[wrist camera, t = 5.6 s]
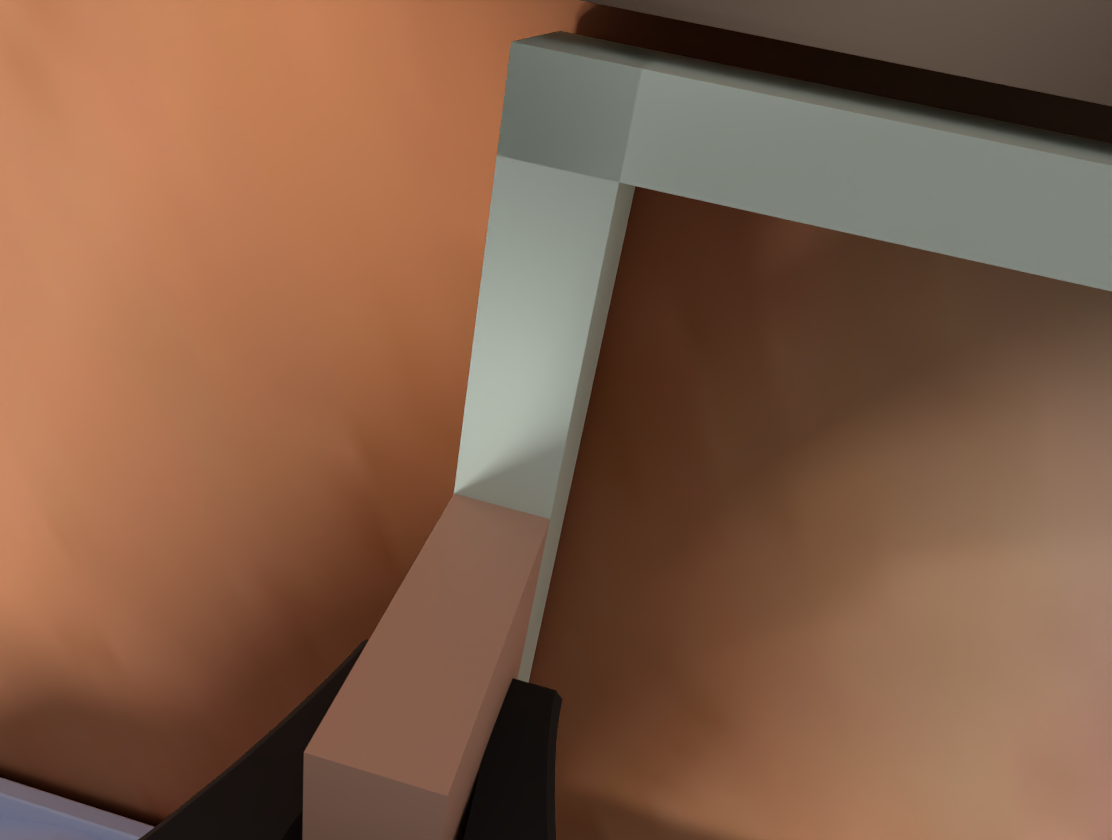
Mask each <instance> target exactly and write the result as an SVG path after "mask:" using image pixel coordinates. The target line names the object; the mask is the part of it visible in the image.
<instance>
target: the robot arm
mask: <svg viewBox="0 0 1112 840" xmlns="http://www.w3.org/2000/svg"><path fill="white" fill-rule="evenodd" d="M369 639H370V638H369ZM369 639H367V640H365V641H363V642H362V643H361V644H360V645H359V646H358V647H357V648H356V649H355V650H354V651H353V652H352V653H351V655H350V656H349V657H348V658H347V659H346V660H345V661H344V662H343V663H342V664H341V665H340V666H339V667H338V668H337V669H336V670H335V671H334V672H333V673H332V674H331V675H330V676H329V677H328V678H327V679H326V680H325V681H324V682H323V683H322V684H321V685H320V686H319V687H318V688H317V689H316V690H315V691H314V692H312V693H311V694H310V695H309V696H308V697H307V698H306V699H305V700H304V701H303V702H302V703H301V704H300V705H299V706H298V707H297V708H296V709H294V710H293V711H292V712H291V713H290V714H289V715H288V716H287V717H286V718H285V719H284V720H283V721H281V722H280V723H279V724H278V725H277V726H276V727H275V728H273V729H272V730H271V731H270V732H269V733H268V734H267V735H266V736H264V737H263V738H262V739H261V740H260V741H259V742H258V743H257V744H255V745H254V746H253V747H252V748H251V749H250V750H249V751H248V752H246V753H245V754H244V755H243V756H242V757H241V758H240V759H238V760H237V761H236V762H235V763H234V764H233V765H231V766H230V767H229V768H228V769H227V770H225V771H224V772H223V773H222V774H221V775H219V776H218V777H217V778H216V779H214V780H213V781H212V782H211V783H209V784H208V785H207V786H206V787H204V788H203V789H202V790H201V791H199V792H198V793H197V794H196V795H195V796H193V797H192V798H191V799H190V800H188V801H187V802H186V803H185V804H183V805H182V806H181V807H180V808H178V809H177V810H176V811H175V812H173V813H172V814H171V815H170V816H169V817H167V818H166V819H165V820H163V821H162V822H161V823H159V824H158V825H157V826H156V827H154V826H151V825H148V824H145V823H142V822H139V821H136V820H132V819H129V818H126V817H123V816H120V815H117V814H114V813H111V812H107V811H104V810H101V809H98V808H95V807H92V806H89V805H86V804H82V803H79V802H76V801H73V800H70V799H67V798H64V797H61V796H57V795H54V794H51V793H48V792H45V791H42V790H39V789H36V788H32V787H29V786H26V785H23V784H20V783H17V782H14V781H11V780H8V779H4V778H1V777H0V840H302V831H303V768H304V751H305V749H306V748H307V746H308V744H309V742H310V741H311V739H312V737H313V735H314V734H315V732H316V730H317V729H318V727H319V725H320V723H321V722H322V720H323V718H324V717H325V715H326V713H327V711H328V710H329V708H330V706H331V704H332V703H333V701H334V699H335V698H336V696H337V694H338V692H339V691H340V689H341V687H342V686H343V684H344V682H345V680H346V679H347V677H348V675H349V673H350V672H351V670H352V668H353V667H354V665H355V663H356V661H357V660H358V658H359V656H360V654H361V653H362V651H363V649H364V648H365V646H366V644H367V642H368V641H369ZM561 704H562V698H561V697H560V696H559V694H558V693H557V692H556V690H552V689H549V688H545V687H542V686H538V685H535V684H531V683H528V682H524V681H521V680H517V679H514V678H512V681H511V683H510V686H509V689H508V691H507V694H506V696H505V699H504V701H503V704H502V706H501V709H500V712H499V714H498V717H497V720H496V722H495V725H494V728H493V730H492V733H491V736H490V738H489V741H488V744H487V746H486V749H485V752H484V755H483V759H482V763H481V767H480V771H479V776H478V780H477V784H476V788H475V792H474V797H473V801H472V805H471V809H470V813H469V818H468V822H467V826H466V830H465V834H464V839H463V840H556V829H555V752H556V738H557V728H558V720H559V713H560V708H561Z"/></svg>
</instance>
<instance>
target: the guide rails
mask: <svg viewBox="0 0 1112 840" xmlns="http://www.w3.org/2000/svg"><path fill="white" fill-rule="evenodd" d="M582 1H587V2H592V3H597V4H602V5H607V6H612V7H617V8H622V9H627V10H632V11H637V12H642V13H647V14H652V15H657V16H662V17H667V18H672V19H677V20H682V21H687V22H692V23H697V24H702V25H707V26H712V27H717V28H722V29H727V30H732V31H737V32H742V33H747V34H752V35H757V36H762V37H767V38H772V39H777V40H782V41H787V42H792V43H797V44H802V45H807V46H812V47H817V48H822V49H827V50H832V51H837V52H842V53H847V54H852V55H857V56H862V57H867V58H872V59H877V60H882V61H887V62H892V63H897V64H902V65H907V66H912V67H917V68H922V69H927V70H932V71H937V72H942V73H947V74H952V75H957V76H962V77H967V78H972V79H977V80H982V81H987V82H992V83H997V84H1002V85H1007V86H1012V87H1017V88H1023V89H1028V90H1033V91H1038V92H1043V93H1048V94H1053V95H1058V96H1063V97H1068V98H1073V99H1078V100H1083V101H1088V102H1093V103H1098V104H1103V105H1108V106H1112V0H582Z"/></svg>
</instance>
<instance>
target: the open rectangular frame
mask: <svg viewBox="0 0 1112 840" xmlns="http://www.w3.org/2000/svg"><path fill="white" fill-rule="evenodd" d="M635 186H637V187H642V188H646V189H651V190H655V191H660V192H664V193H669V194H673V195H678V196H683V197H687V198H692V199H696V200H701V201H705V202H710V203H714V204H719V205H723V206H728V207H732V208H737V209H741V210H746V211H750V212H755V213H759V214H764V215H768V216H773V217H777V218H782V219H786V220H791V221H795V222H800V223H805V224H809V225H814V226H818V227H823V228H827V229H832V230H836V231H841V232H845V233H850V234H854V235H859V236H863V237H868V238H872V239H877V240H881V241H886V242H890V243H895V244H899V245H904V246H908V247H913V248H917V249H922V250H927V251H931V252H936V253H940V254H945V255H949V256H954V257H958V258H963V259H967V260H972V261H976V262H981V263H985V264H990V265H994V266H999V267H1003V268H1008V269H1012V270H1017V271H1021V272H1026V273H1030V274H1035V275H1039V276H1044V277H1049V278H1053V279H1058V280H1062V281H1067V282H1071V283H1076V284H1080V285H1085V286H1089V287H1094V288H1098V289H1103V290H1107V291H1112V143H1108V142H1103V141H1098V140H1093V139H1088V138H1083V137H1078V136H1073V135H1069V134H1064V133H1059V132H1054V131H1049V130H1044V129H1039V128H1034V127H1029V126H1024V125H1019V124H1015V123H1010V122H1005V121H1000V120H995V119H990V118H985V117H980V116H975V115H970V114H966V113H961V112H956V111H951V110H946V109H941V108H936V107H931V106H926V105H921V104H917V103H912V102H907V101H902V100H897V99H892V98H887V97H882V96H877V95H872V94H867V93H863V92H858V91H853V90H848V89H843V88H838V87H833V86H828V85H823V84H818V83H814V82H809V81H804V80H799V79H794V78H789V77H784V76H779V75H774V74H769V73H764V72H760V71H755V70H750V69H745V68H740V67H735V66H730V65H725V64H720V63H715V62H711V61H706V60H701V59H696V58H691V57H686V56H681V55H676V54H671V53H666V52H661V51H657V50H652V49H647V48H642V47H637V46H632V45H627V44H622V43H617V42H612V41H608V40H603V39H598V38H593V37H588V36H583V35H578V34H573V33H568V32H563V31H558V32H553V33H549V34H544V35H540V36H535V37H531V38H526V39H522V40H517V41H513V42H511V49H510V56H509V64H508V72H507V80H506V88H505V96H504V104H503V111H502V119H501V127H500V135H499V143H498V151H497V159H496V166H495V174H494V182H493V190H492V198H491V206H490V214H489V221H488V229H487V237H486V245H485V253H484V261H483V269H482V276H481V284H480V292H479V300H478V308H477V316H476V324H475V331H474V339H473V347H472V355H471V363H470V371H469V379H468V386H467V394H466V402H465V410H464V418H463V426H462V434H461V442H460V449H459V457H458V465H457V473H456V481H455V489H454V494H453V496H452V498H451V499H450V501H449V503H448V505H447V506H446V508H445V510H444V511H443V513H442V515H441V517H440V518H439V520H438V522H437V523H436V525H435V527H434V529H433V530H432V532H431V534H430V536H429V537H428V539H427V541H426V542H425V544H424V546H423V548H422V549H421V551H420V553H419V555H418V556H417V558H416V560H415V561H414V563H413V565H412V567H411V568H410V570H409V572H408V573H407V575H406V577H405V579H404V580H403V582H402V584H401V586H400V587H399V589H398V591H397V592H396V594H395V596H394V598H393V599H392V601H391V603H390V605H389V606H388V608H387V610H386V611H385V613H384V615H383V617H382V618H381V620H380V622H379V623H378V625H377V627H376V629H375V630H374V632H373V634H372V636H371V637H370V639H369V641H368V642H367V644H366V646H365V648H364V649H363V651H362V653H361V654H360V656H359V658H358V660H357V661H356V663H355V665H354V667H353V668H352V670H351V672H350V673H349V675H348V677H347V679H346V680H345V682H344V684H343V686H342V687H341V689H340V691H339V692H338V694H337V696H336V698H335V699H334V701H333V703H332V704H331V706H330V708H329V710H328V711H327V713H326V715H325V717H324V718H323V720H322V722H321V723H320V725H319V727H318V729H317V730H316V732H315V734H314V735H313V737H312V739H311V741H310V742H309V744H308V746H307V748H306V749H305V751H304V768H303V831H302V840H463V839H464V834H465V830H466V826H467V822H468V818H469V813H470V809H471V805H472V801H473V797H474V792H475V788H476V784H477V780H478V776H479V771H480V767H481V763H482V759H483V755H484V752H485V749H486V746H487V744H488V741H489V738H490V736H491V733H492V730H493V728H494V725H495V722H496V720H497V717H498V714H499V712H500V709H501V706H502V704H503V701H504V699H505V696H506V694H507V691H508V689H509V686H510V683H511V681H512V678H514V679H517V680H521V681H524V682H528V683H529V678H530V674H531V669H532V664H533V660H534V655H535V651H536V646H537V641H538V637H539V632H540V627H541V623H542V618H543V613H544V609H545V604H546V599H547V595H548V590H549V585H550V581H551V576H552V572H553V567H554V562H555V558H556V553H557V548H558V544H559V539H560V534H561V530H562V525H563V520H564V516H565V511H566V506H567V502H568V497H569V493H570V488H571V483H572V479H573V474H574V469H575V465H576V460H577V455H578V451H579V446H580V441H581V437H582V432H583V427H584V423H585V418H586V414H587V409H588V404H589V400H590V395H591V390H592V386H593V381H594V376H595V372H596V367H597V362H598V358H599V353H600V348H601V344H602V339H603V335H604V330H605V325H606V321H607V316H608V311H609V307H610V302H611V297H612V293H613V288H614V283H615V279H616V274H617V270H618V265H619V260H620V256H621V251H622V246H623V242H624V237H625V232H626V228H627V223H628V218H629V214H630V209H631V204H632V200H633V195H634V191H635Z"/></svg>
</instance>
